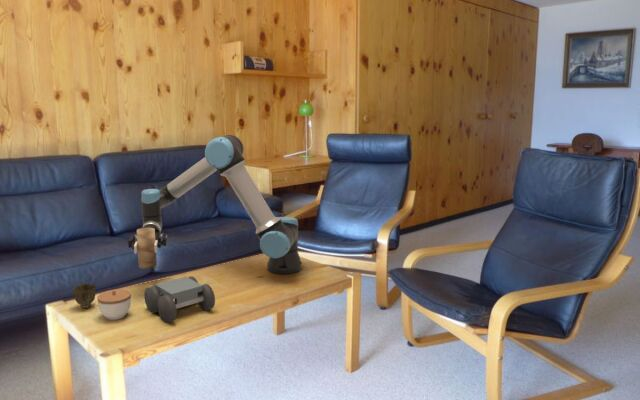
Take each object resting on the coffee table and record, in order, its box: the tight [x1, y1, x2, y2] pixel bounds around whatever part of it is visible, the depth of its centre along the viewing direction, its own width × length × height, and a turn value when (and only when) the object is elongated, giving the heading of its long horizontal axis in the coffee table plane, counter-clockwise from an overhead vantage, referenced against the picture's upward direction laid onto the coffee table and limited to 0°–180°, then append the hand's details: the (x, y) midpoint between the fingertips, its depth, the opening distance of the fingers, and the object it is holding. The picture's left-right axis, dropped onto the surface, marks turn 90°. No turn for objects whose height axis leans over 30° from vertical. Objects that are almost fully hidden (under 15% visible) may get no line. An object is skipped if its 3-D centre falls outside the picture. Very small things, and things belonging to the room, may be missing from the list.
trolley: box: [143, 276, 216, 323], centre depth 186 cm, size 17×19×10 cm
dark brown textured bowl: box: [72, 282, 97, 310], centre depth 187 cm, size 8×7×8 cm
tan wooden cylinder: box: [136, 227, 158, 270], centre depth 196 cm, size 6×6×14 cm
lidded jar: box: [96, 288, 132, 321], centre depth 181 cm, size 11×11×9 cm
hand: (145, 249), depth 191 cm, fingers closed on tan wooden cylinder, 6 cm apart
